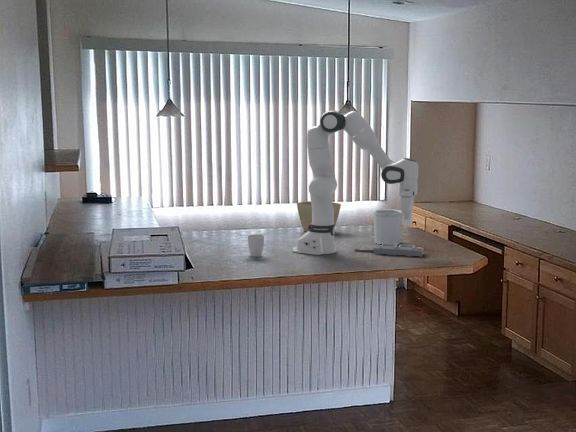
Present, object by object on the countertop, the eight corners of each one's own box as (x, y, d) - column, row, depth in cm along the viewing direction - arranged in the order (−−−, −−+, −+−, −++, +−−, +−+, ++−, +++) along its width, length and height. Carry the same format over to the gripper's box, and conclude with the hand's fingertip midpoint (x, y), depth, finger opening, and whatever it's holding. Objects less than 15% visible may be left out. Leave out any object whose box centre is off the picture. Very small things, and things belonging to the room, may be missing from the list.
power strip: (352, 252, 361) (353, 244, 360) (356, 249, 369) (356, 241, 368) (421, 257, 351) (421, 248, 350) (423, 253, 359) (423, 245, 358)
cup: (267, 255, 354) (267, 235, 353) (258, 258, 347) (258, 238, 346) (253, 253, 358) (253, 233, 357) (244, 256, 351) (244, 236, 350)
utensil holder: (387, 246, 375) (388, 214, 373) (367, 242, 387) (368, 210, 384) (406, 243, 385) (407, 211, 382) (386, 239, 396) (386, 208, 393)
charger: (401, 225, 353) (402, 208, 352) (402, 223, 358) (403, 207, 356) (410, 225, 352) (411, 209, 351) (411, 224, 356) (412, 207, 355)
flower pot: (319, 227, 432) (319, 199, 430) (341, 231, 418) (341, 203, 415) (295, 230, 420) (295, 202, 418) (317, 235, 406) (317, 206, 403)
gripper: (404, 188, 363) (403, 214, 365) (399, 193, 343) (397, 221, 346) (417, 188, 361) (415, 215, 363) (412, 193, 342) (410, 222, 344)
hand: (407, 218), depth 354 cm, fingers closed on charger, 4 cm apart
